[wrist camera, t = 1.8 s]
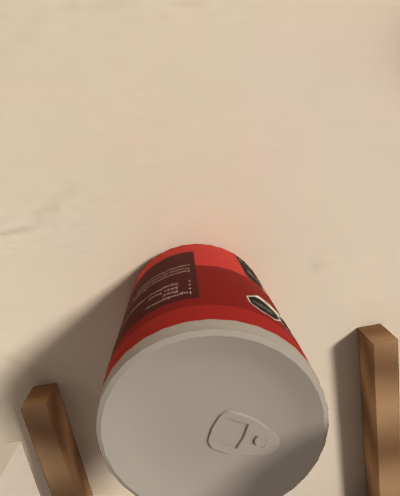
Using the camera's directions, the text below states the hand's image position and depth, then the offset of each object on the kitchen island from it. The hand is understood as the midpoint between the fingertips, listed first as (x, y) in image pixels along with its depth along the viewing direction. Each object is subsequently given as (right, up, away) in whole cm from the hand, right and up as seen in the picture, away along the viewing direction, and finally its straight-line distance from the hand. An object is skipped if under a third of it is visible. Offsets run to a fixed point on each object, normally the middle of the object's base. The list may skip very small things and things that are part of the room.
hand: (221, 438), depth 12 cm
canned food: (-1, +3, +11) cm, 11 cm away
